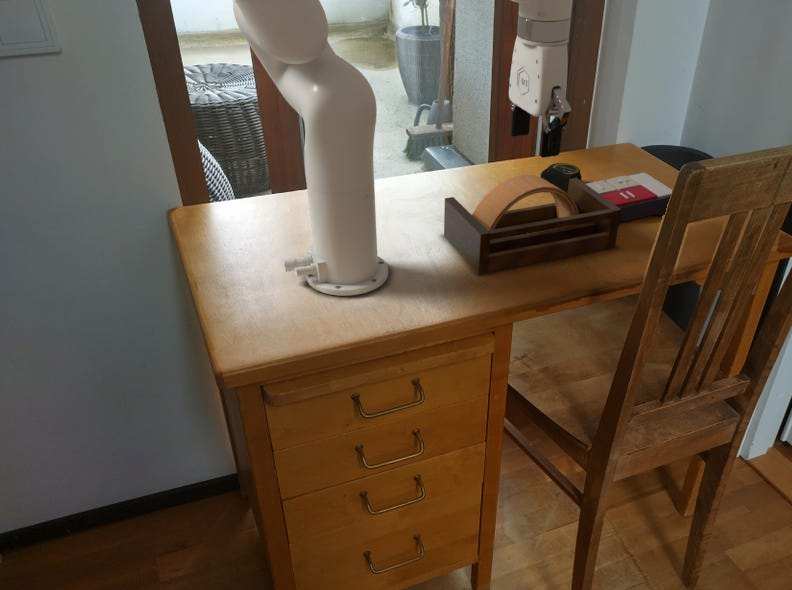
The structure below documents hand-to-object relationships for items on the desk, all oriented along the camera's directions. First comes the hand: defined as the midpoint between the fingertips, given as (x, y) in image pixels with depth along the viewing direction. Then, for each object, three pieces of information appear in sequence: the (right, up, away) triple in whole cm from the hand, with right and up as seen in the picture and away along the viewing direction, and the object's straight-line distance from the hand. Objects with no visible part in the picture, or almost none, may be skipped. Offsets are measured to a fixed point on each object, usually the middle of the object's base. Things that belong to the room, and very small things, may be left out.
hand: (534, 145), depth 114 cm
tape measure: (+8, 0, +27) cm, 28 cm away
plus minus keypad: (+19, -6, +21) cm, 29 cm away
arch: (-1, -13, +10) cm, 16 cm away
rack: (0, -14, +8) cm, 16 cm away
